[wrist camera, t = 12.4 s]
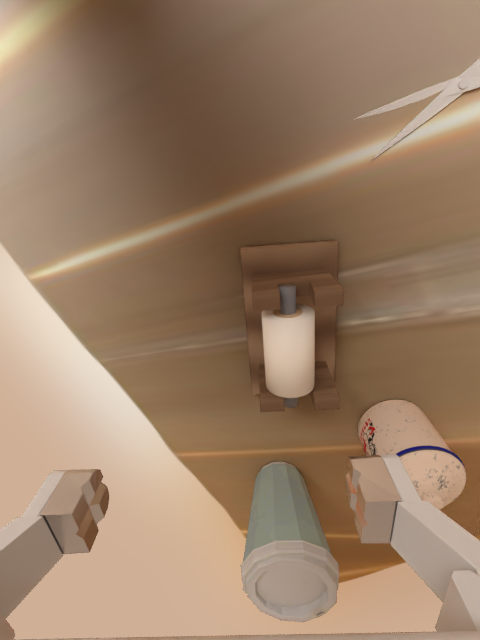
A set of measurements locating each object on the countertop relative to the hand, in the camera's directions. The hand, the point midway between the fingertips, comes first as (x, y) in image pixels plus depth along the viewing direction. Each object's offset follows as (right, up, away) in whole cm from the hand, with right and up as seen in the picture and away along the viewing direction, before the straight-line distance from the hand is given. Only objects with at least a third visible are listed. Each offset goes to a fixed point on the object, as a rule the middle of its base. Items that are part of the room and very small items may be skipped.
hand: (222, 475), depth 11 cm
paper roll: (+5, +2, +22) cm, 23 cm away
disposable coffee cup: (+6, -17, +37) cm, 41 cm away
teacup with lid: (+21, -10, +33) cm, 40 cm away
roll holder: (+6, +5, +27) cm, 28 cm away
